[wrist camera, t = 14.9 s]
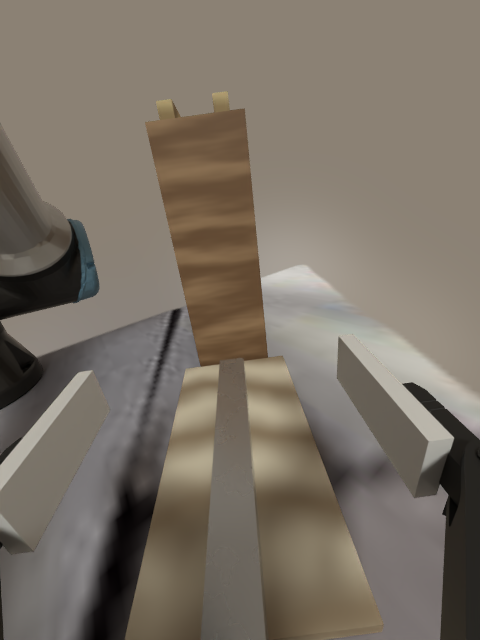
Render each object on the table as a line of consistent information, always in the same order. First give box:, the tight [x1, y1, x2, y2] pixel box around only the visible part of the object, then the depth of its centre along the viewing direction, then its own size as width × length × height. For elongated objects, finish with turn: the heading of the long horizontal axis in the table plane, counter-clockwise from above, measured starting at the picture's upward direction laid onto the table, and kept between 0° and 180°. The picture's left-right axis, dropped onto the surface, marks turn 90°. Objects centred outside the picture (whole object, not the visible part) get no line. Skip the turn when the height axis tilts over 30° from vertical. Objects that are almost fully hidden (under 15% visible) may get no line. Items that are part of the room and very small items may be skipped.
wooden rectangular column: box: [145, 92, 268, 367], centre depth 39 cm, size 16×10×32 cm, turn 3°
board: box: [125, 356, 384, 640], centre depth 26 cm, size 26×14×1 cm, turn 3°
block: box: [200, 358, 269, 640], centre depth 22 cm, size 24×3×3 cm, turn 2°
